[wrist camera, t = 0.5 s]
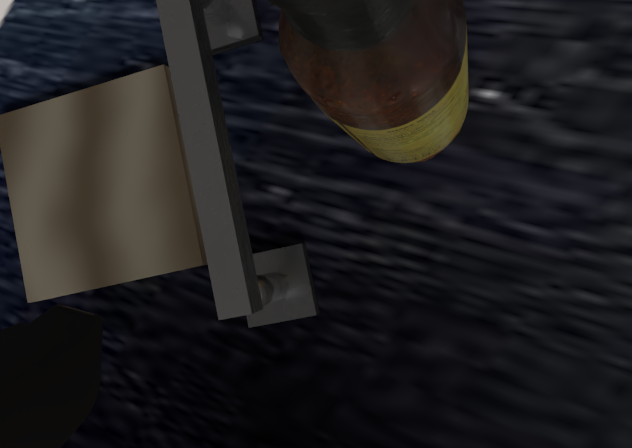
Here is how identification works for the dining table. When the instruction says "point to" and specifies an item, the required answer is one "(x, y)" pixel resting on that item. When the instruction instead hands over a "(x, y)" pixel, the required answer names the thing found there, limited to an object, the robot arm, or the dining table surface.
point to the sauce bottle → (382, 69)
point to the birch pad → (101, 186)
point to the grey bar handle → (227, 167)
